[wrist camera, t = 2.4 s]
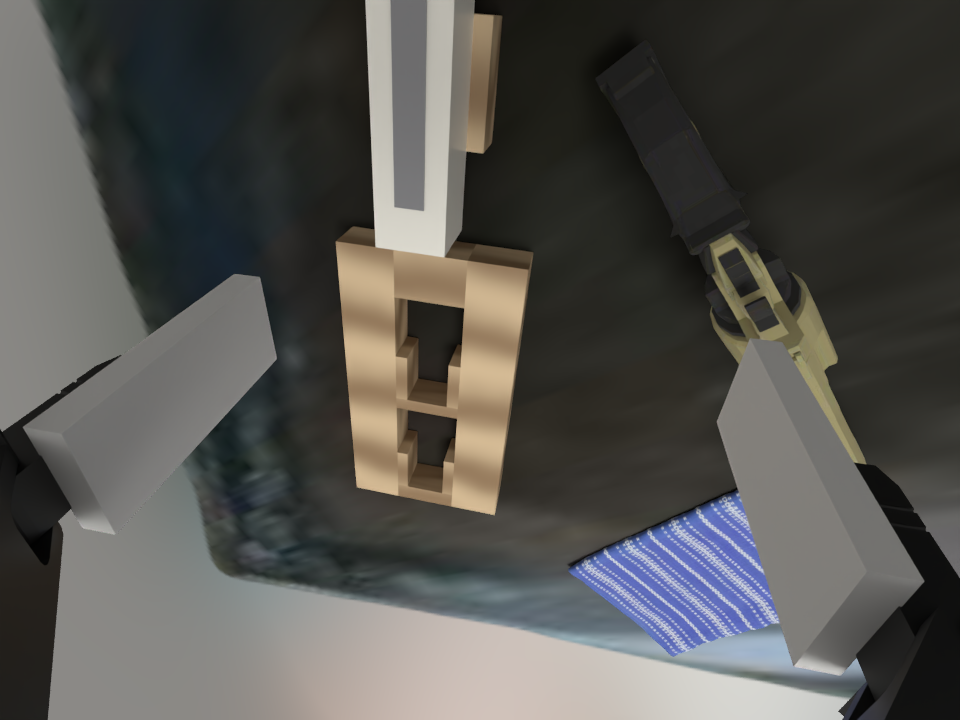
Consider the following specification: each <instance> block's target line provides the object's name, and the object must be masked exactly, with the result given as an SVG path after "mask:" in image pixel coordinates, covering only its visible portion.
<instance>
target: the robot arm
mask: <svg viewBox="0 0 960 720" xmlns="http://www.w3.org/2000/svg"><path fill="white" fill-rule="evenodd" d="M276 359H277V357H276V352H275V348H274V343H273V338H272V333H271V328H270V323H269V319H268V314H267V309H266V304H265V299H264V295H263V290H262V285H261V280H260V277H255V276H247V275H238V274H234V275H232V276H231V277H230V278H228V279H227V280H226V281H224V282H223V283H221V284H220V285H219V286H217V287H216V288H214V289H213V290H212V291H210V292H209V293H208V294H206V295H205V296H203V297H202V298H201V299H199V300H198V301H196V302H195V303H194V304H192V305H191V306H190V307H188V308H187V309H185V310H184V311H183V312H181V313H180V314H178V315H177V316H176V317H174V318H173V319H172V320H170V321H169V322H167V323H166V324H165V325H163V326H162V327H161V328H159V329H158V330H156V331H155V332H154V333H152V334H151V335H149V336H148V337H147V338H145V339H144V340H143V341H141V342H140V343H138V344H137V345H136V346H134V347H133V348H131V349H130V350H129V351H128V352H126V353H125V354H123V355H120V356H117V357H116V358H113V359H111V360H108V361H106V362H104V363H101V364H100V365H97V366H95V367H94V368H92V369H91V370H89V371H88V372H87V373H86V374H84V375H82V376H81V377H79V378H78V379H77V382H76V383H75V382H72V383H71V384H70V385H68V386H67V387H65V388H64V389H62V390H61V393H60V394H55V395H54V396H53V397H51V398H50V399H48V400H47V401H45V402H44V403H43V404H41V405H40V406H38V407H37V408H36V409H34V410H33V411H31V412H30V413H29V414H27V415H26V416H24V417H23V418H21V419H20V420H19V421H18V422H16V423H14V424H13V425H11V426H10V427H9V428H7V429H6V430H4V431H3V432H2V431H1V430H0V720H48V708H49V697H50V684H51V673H52V662H53V650H54V638H55V627H56V615H57V602H58V590H59V579H60V568H61V567H60V566H61V555H62V544H63V532H62V528H61V526H60V524H59V523H58V521H59V520H60V519H61V518H62V517H63V516H64V515H65V514H66V513H67V512H68V511H69V510H70V509H71V510H72V511H73V513H74V515H75V516H76V518H77V520H78V522H79V523H80V525H81V526H82V528H84V529H89V530H94V531H99V532H105V533H109V534H114V535H116V534H117V533H118V532H119V531H120V530H121V529H122V527H123V526H124V525H125V524H126V523H127V522H128V521H129V520H130V519H131V518H132V517H133V515H134V514H135V513H136V512H137V511H138V510H139V509H140V508H141V507H142V506H143V505H144V503H145V502H146V501H147V500H148V499H149V498H150V497H151V496H152V495H153V494H154V493H155V491H156V490H157V489H158V488H159V487H160V486H161V485H162V484H163V483H164V482H165V480H166V479H167V478H168V477H169V476H170V475H171V474H172V473H173V472H174V471H175V470H176V469H177V467H178V466H179V465H180V464H181V463H182V462H183V461H184V460H185V459H186V458H187V456H188V455H189V454H190V453H191V452H192V451H193V450H194V449H195V448H196V447H197V446H198V444H199V443H200V442H201V441H202V440H203V439H204V438H205V437H206V436H207V435H208V434H209V432H210V431H211V430H212V429H213V428H214V427H215V426H216V425H217V424H218V423H219V422H220V420H221V419H222V418H223V417H224V416H225V415H226V414H227V413H228V412H229V411H230V410H231V408H232V407H233V406H234V405H235V404H236V403H237V402H238V401H239V400H240V399H241V398H242V396H243V395H244V394H245V393H246V392H247V391H248V390H249V389H250V388H251V387H252V385H253V384H254V383H255V382H256V381H257V380H258V379H259V378H260V377H261V376H262V375H263V373H264V372H265V371H266V370H267V369H268V368H269V367H270V366H271V365H272V364H273V363H274V361H275V360H276ZM717 424H718V428H719V431H720V434H721V437H722V440H723V443H724V447H725V450H726V453H727V456H728V459H729V463H730V466H731V469H732V472H733V475H734V478H735V482H736V485H737V488H738V491H739V494H740V497H741V501H742V504H743V507H744V510H745V513H746V517H747V520H748V523H749V526H750V529H751V532H752V536H753V539H754V542H755V545H756V548H757V552H758V555H759V558H760V561H761V564H762V567H763V571H764V574H765V577H766V580H767V583H768V586H769V590H770V593H771V596H772V599H773V602H774V606H775V609H776V612H777V615H778V618H779V621H780V625H781V628H782V631H783V634H784V637H785V641H786V644H787V647H788V650H789V653H790V656H791V660H792V663H793V666H794V667H799V668H804V669H809V670H814V671H819V672H824V673H829V674H835V675H840V676H841V675H842V673H843V672H844V671H845V670H846V669H847V668H848V667H849V666H850V664H851V663H852V662H853V661H854V660H855V659H856V658H857V659H858V662H859V664H860V666H861V669H862V671H863V674H864V676H865V678H866V681H867V682H866V683H865V684H864V685H863V686H862V687H861V688H860V689H859V690H858V691H857V692H856V693H855V695H854V696H853V697H852V698H851V699H850V700H849V701H848V702H847V703H846V704H845V705H844V706H843V707H842V708H841V709H840V710H839V711H838V712H840V713H841V714H842V715H843V716H844V718H843V720H960V578H959V576H958V575H957V573H956V572H955V570H954V569H953V567H952V566H951V564H950V563H949V561H948V560H947V558H946V557H945V555H944V554H943V552H942V551H941V549H940V548H939V546H938V545H937V543H936V542H935V540H934V539H933V537H932V536H931V534H930V532H926V526H925V525H924V523H923V522H922V520H921V519H920V517H919V516H918V514H917V513H914V512H913V510H914V508H913V507H912V505H911V504H910V502H909V501H908V499H907V498H906V496H905V495H904V493H903V492H902V490H901V489H900V487H899V486H898V485H897V484H896V483H895V482H893V481H892V480H891V479H890V478H889V477H888V476H887V475H885V474H884V473H883V472H882V471H881V470H880V469H879V468H877V467H876V466H874V465H868V464H861V463H854V462H853V460H852V459H851V457H850V455H849V454H848V452H847V450H846V448H845V447H844V445H843V443H842V442H841V440H840V438H839V437H838V435H837V433H836V432H835V430H834V428H833V427H832V425H831V423H830V422H829V420H828V418H827V416H826V415H825V413H824V411H823V410H822V408H821V406H820V405H819V403H818V401H817V400H816V398H815V396H814V395H813V393H812V391H811V390H810V388H809V386H808V384H807V383H806V381H805V379H804V378H803V376H802V374H801V373H800V371H799V369H798V368H797V366H796V364H795V363H794V361H793V359H792V358H791V356H790V354H789V353H788V351H787V349H786V347H785V346H784V344H783V342H777V341H769V340H761V339H753V338H750V340H749V342H748V345H747V347H746V350H745V352H744V355H743V357H742V360H741V362H740V365H739V367H738V370H737V372H736V375H735V377H734V380H733V382H732V385H731V388H730V390H729V393H728V395H727V398H726V400H725V403H724V405H723V408H722V410H721V413H720V415H719V418H718V420H717Z"/></svg>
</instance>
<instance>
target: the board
mask: <svg viewBox="0 0 960 720" xmlns="http://www.w3.org/2000/svg"><path fill="white" fill-rule="evenodd" d="M336 250H337V262H338V274H339V285H340V297H341V308H342V320H343V331H344V343H345V355H346V366H347V378H348V389H349V401H350V413H351V424H352V436H353V447H354V459H355V471H356V482H357V487H358V488H363V489H368V490H373V491H378V492H383V493H388V494H393V495H398V496H403V497H408V498H413V499H418V500H423V501H427V502H432V503H437V504H442V505H447V506H452V507H457V508H462V509H467V510H472V511H477V512H482V513H487V514H492V515H495V510H496V505H497V501H498V496H499V491H500V484H501V477H502V470H503V463H504V456H505V449H506V442H507V435H508V428H509V421H510V414H511V407H512V400H513V393H514V385H515V378H516V371H517V364H518V357H519V350H520V343H521V336H522V329H523V322H524V315H525V308H526V301H527V294H528V287H529V280H530V273H531V266H532V259H533V252H528V251H521V250H514V249H507V248H500V247H493V246H486V245H479V244H472V243H465V242H458V241H455V242H454V243H453V245H452V246H451V248H450V249H449V251H448V253H447V254H446V256H445V257H438V256H431V255H424V254H417V253H411V252H404V251H397V250H390V249H384V248H377V247H376V246H375V229H368V228H361V227H354V226H353V227H352V228H351V229H349V230H348V231H347V232H346V233H345V234H344V235H343V236H341V237H340V238H339V239H338V240H337V241H336ZM407 299H409V300H415V301H421V302H428V303H434V304H440V305H447V306H453V307H459V308H464V322H463V337H462V345H457V347H456V349H455V352H454V354H453V357H452V359H451V361H450V364H449V369H448V383H442V382H436V381H430V380H425V379H419V378H418V338H415V337H409V336H407ZM408 410H412V411H417V412H423V413H428V414H434V415H439V416H444V417H450V418H455V419H457V428H456V439H455V438H452V439H451V442H450V445H449V448H448V451H447V454H446V457H445V460H444V468H441V467H436V466H431V465H426V464H421V463H417V432H418V431H412V430H408Z"/></svg>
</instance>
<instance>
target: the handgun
mask: <svg viewBox="0 0 960 720" xmlns="http://www.w3.org/2000/svg"><path fill="white" fill-rule="evenodd" d="M595 79H596V81H597V84H598V86H599V88H600V89H601V91H602V92H603V94H604V95H605V97H606V98H607V100H608V101H609V103H610V104H611V106H612V107H613V109H614V111H615V112H616V114H617V115H618V117H619V118H620V120H621V121H622V123H623V126H624V128H625V130H626V132H627V134H628V135H629V137H630V139H631V141H632V143H633V145H634V147H635V149H636V151H637V153H638V155H639V158H640V160H641V161H642V163H643V165H644V167H645V169H646V170H647V172H648V174H649V176H650V177H651V179H652V181H653V183H654V185H655V187H656V189H657V191H658V192H659V194H660V196H661V198H662V201H663V203H664V205H665V208H666V210H667V212H668V214H669V217H670V219H671V221H672V223H673V229H672V233H671V236H670V238H671V237H673V236H675V235H677V234H679V235H680V236H681V237H682V238H683V240H684V242H685V244H686V246H687V248H688V250H689V253H690V254H691V255H697V254H698V255H699V257H700V260H701V263H702V265H703V268H704V269H705V271H706V273H707V274H708V275H707V278H706V282H705V296H706V297H707V299H708V300H709V302H710V304H711V305H712V307H711V311H710V316H711V320H712V323H713V327H714V329H715V331H716V332H717V334H718V335H719V337H720V338H721V340H722V341H723V343H724V344H725V346H726V347H727V349H728V350H729V351H730V352H731V353H732V355H733V356H734V358H735V359H736V360H737V362H738V363H739V365H740V362H741V360H742V357H743V355H744V352H745V350H746V347H747V345H748V342H749V340H750V338H753V339H761V340H769V341H777V342H783V344H784V346H785V347H786V349H787V351H788V353H789V354H790V356H791V358H792V359H793V361H794V363H795V364H796V366H797V368H798V369H799V371H800V373H801V374H802V376H803V378H804V379H805V381H806V383H807V384H808V386H809V388H810V390H811V391H812V393H813V395H814V396H815V398H816V400H817V401H818V403H819V405H820V406H821V408H822V410H823V411H824V413H825V415H826V416H827V418H828V420H829V422H830V423H831V425H832V427H833V428H834V430H835V432H836V433H837V435H838V437H839V438H840V440H841V442H842V443H843V445H844V447H845V448H846V450H847V452H848V454H849V455H850V457H851V459H852V460H853V462H854V463H861V464H866V462H865V458H864V456H863V454H862V452H861V450H860V448H859V446H858V444H857V442H856V440H855V438H854V436H853V434H852V433H851V431H850V429H849V427H848V425H847V423H846V421H845V419H844V417H843V414H842V412H841V410H840V407H839V405H838V403H837V401H836V399H835V397H834V395H833V393H832V391H831V389H830V387H829V385H828V379H827V377H826V375H825V373H824V371H825V369H826V368H827V367H828V366H830V365H833V364H836V363H837V360H838V358H837V355H836V352H835V349H834V347H833V344H832V342H831V340H830V337H829V335H828V333H827V330H826V328H825V326H824V323H823V321H822V319H821V317H820V314H819V312H818V309H817V307H816V305H815V303H814V301H813V299H812V296H811V294H810V292H809V290H808V288H807V286H806V284H805V282H804V281H803V280H802V279H801V278H800V277H798V276H797V275H796V274H794V273H792V272H790V271H787V270H786V269H785V267H784V265H783V263H782V261H781V259H780V258H779V257H778V256H776V255H775V254H774V253H772V252H771V251H768V250H765V249H761V248H758V245H757V243H756V242H755V240H754V238H753V237H752V236H751V235H750V233H749V232H748V231H747V229H746V228H747V227H748V226H749V224H750V220H749V218H748V217H747V215H746V214H745V212H744V211H743V209H742V208H741V205H740V201H739V199H740V198H742V197H743V196H745V195H746V194H748V193H744V192H740V191H735V190H734V189H733V188H732V186H731V185H730V183H729V182H728V180H727V179H726V177H725V176H724V174H723V173H722V171H721V170H720V168H719V167H718V166H717V165H716V164H715V162H714V160H713V158H712V157H711V155H710V153H709V151H708V150H707V148H706V146H705V144H704V143H703V141H702V139H701V137H700V135H699V133H698V131H697V130H696V128H695V126H694V124H693V123H692V121H691V120H690V119H689V117H688V115H687V114H686V112H685V110H684V109H683V107H682V105H681V104H680V102H679V100H678V99H677V97H676V95H675V94H674V92H673V91H672V89H671V87H670V85H669V83H668V81H667V79H666V76H665V74H664V72H663V70H662V68H661V66H660V64H659V62H658V60H657V57H656V55H655V53H654V51H653V49H652V47H651V45H650V44H649V42H648V41H647V39H645V40H644V41H643V42H641V43H640V44H639V45H638V46H636V47H635V48H634V49H632V50H631V51H630V52H629V53H627V54H626V55H625V56H623V57H622V58H621V59H620V60H618V61H617V62H616V63H614V64H613V65H612V66H611V67H609V68H608V69H607V70H605V71H604V72H603V73H602V74H600V75H599V76H598V77H596V78H595Z"/></svg>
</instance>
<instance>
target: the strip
mask: <svg viewBox="0 0 960 720" xmlns="http://www.w3.org/2000/svg"><path fill="white" fill-rule="evenodd" d="M365 1H366V26H367V50H368V75H369V99H370V123H371V148H372V172H373V197H374V221H375V246H376V247H377V248H384V249H390V250H397V251H404V252H411V253H417V254H424V255H431V256H438V257H445V256H446V254H447V253H448V251H449V249H450V248H451V246H452V245H453V243H454V242H455V240H456V238H457V237H458V235H459V234H460V232H461V230H462V217H463V199H464V182H465V164H466V147H467V129H468V112H469V94H470V77H471V59H472V42H473V25H474V7H475V0H365Z"/></svg>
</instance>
